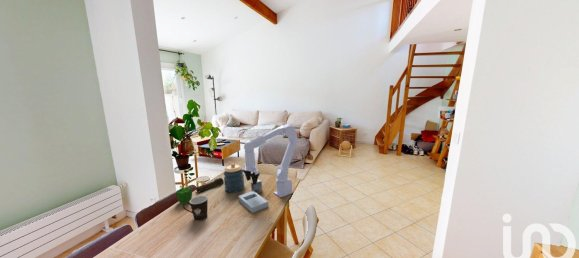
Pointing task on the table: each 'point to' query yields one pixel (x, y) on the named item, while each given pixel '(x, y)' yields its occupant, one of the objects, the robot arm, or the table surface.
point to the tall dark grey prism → (257, 186)
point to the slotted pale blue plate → (253, 201)
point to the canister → (233, 178)
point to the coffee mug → (198, 207)
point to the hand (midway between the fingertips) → (251, 182)
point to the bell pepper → (184, 195)
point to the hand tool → (210, 185)
